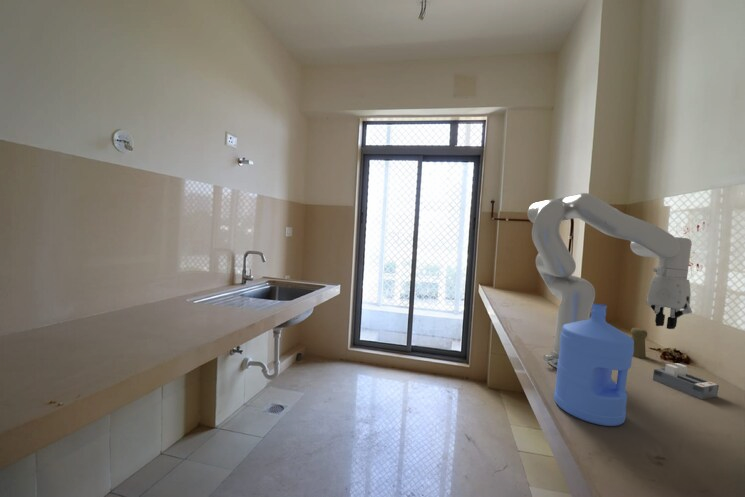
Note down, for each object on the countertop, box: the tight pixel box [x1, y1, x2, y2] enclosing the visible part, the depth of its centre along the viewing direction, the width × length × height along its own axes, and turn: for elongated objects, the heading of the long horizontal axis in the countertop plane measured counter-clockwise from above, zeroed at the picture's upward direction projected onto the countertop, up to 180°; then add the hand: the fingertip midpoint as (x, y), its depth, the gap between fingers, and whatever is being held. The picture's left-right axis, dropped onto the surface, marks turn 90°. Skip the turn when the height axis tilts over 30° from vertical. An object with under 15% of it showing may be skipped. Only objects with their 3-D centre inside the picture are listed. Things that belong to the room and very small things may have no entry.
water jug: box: [553, 303, 634, 427], centre depth 84 cm, size 16×16×28 cm
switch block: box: [652, 367, 720, 400], centre depth 102 cm, size 8×12×4 cm, turn 19°
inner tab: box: [664, 363, 679, 377], centre depth 103 cm, size 2×2×4 cm
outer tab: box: [673, 362, 688, 376], centre depth 105 cm, size 2×2×4 cm
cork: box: [630, 327, 648, 359], centre depth 129 cm, size 6×6×11 cm
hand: (665, 326), depth 109 cm, fingers open, 2 cm apart
